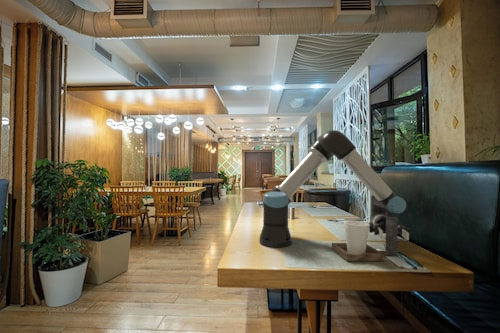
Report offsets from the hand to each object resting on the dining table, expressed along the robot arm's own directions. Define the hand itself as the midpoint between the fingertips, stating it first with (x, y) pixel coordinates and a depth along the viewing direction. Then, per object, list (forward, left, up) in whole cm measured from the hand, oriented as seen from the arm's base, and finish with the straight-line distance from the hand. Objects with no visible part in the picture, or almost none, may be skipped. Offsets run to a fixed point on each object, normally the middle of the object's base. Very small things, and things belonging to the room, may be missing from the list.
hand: (394, 235), depth 96 cm
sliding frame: (-9, +4, -9) cm, 13 cm away
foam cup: (-13, +4, -9) cm, 17 cm away
